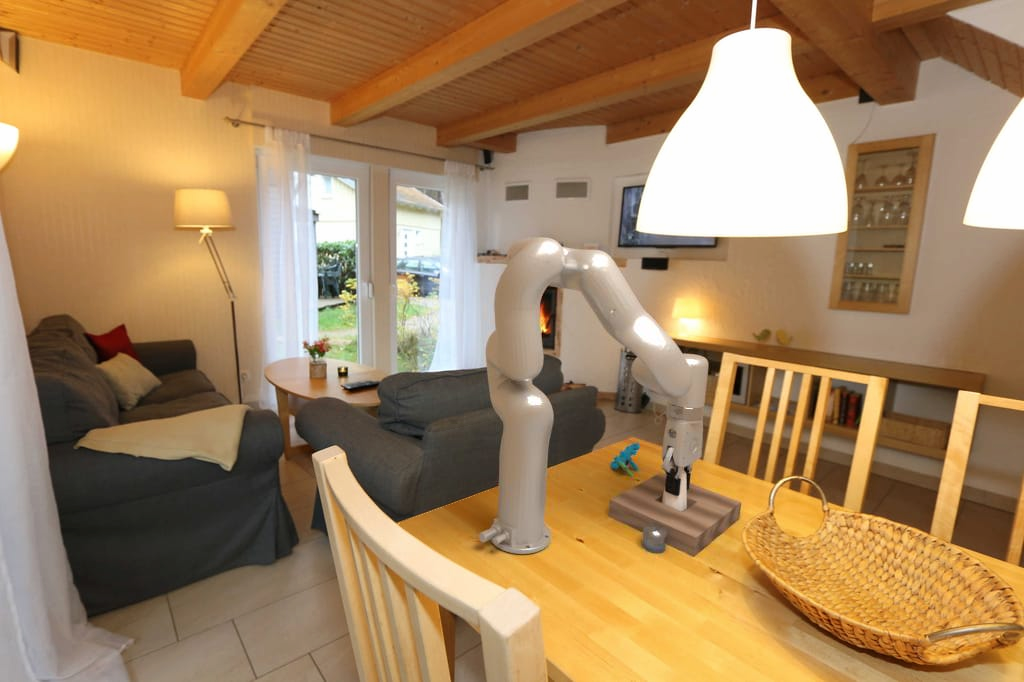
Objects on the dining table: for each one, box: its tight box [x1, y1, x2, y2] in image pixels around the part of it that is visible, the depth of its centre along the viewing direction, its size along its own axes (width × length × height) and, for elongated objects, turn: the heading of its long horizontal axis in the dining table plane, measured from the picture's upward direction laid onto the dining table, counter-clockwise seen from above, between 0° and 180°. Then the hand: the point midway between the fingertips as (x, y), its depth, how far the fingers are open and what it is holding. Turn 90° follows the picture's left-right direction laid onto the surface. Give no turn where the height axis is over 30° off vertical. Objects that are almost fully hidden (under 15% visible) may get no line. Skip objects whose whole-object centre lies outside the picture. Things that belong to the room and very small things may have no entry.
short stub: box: [641, 523, 667, 555], centre depth 100 cm, size 5×5×4 cm
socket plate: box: [608, 472, 742, 558], centre depth 112 cm, size 22×20×4 cm
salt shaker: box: [662, 460, 687, 512], centre depth 111 cm, size 5×5×11 cm
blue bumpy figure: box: [610, 441, 641, 477], centre depth 136 cm, size 11×6×10 cm
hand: (677, 489), depth 111 cm, fingers closed on salt shaker, 3 cm apart
